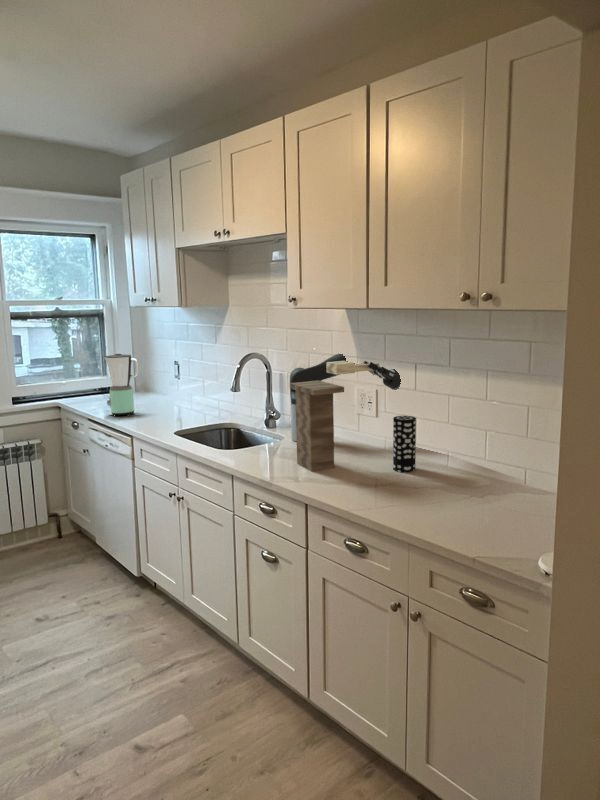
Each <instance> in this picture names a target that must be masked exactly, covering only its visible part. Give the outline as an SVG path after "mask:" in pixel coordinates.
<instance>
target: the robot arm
mask: <svg viewBox="0 0 600 800" xmlns="http://www.w3.org/2000/svg"><path fill="white" fill-rule="evenodd" d="M336 361H346V358H345V356H343V354H339V353H337V354H334V355H333V356H330V357H328V358H327V359H325V360H324V361H322V362H320V363H318V364H316V365H313V366H310V367H306V368H304V367H297V368H294V369H293V370H292V371H291V372H290V375H289V384H290V383H298V382H308V381H318V380H319V381H324V380H327V379H331V378H335V377H337V376H340V375H341V374H339V375H336V374H331V373H327V367H326V362H336ZM367 363H369V364H368V367H369V368H371V369H373V370H370V371H368V372H369V373H371V374H372V376H377V378H378V379H382V383H383V385H384V386H386V387H388V388H390V389H391V390H393V391H394V390H397V389H399V387H400V384H401V383H400V382H401V379H400V375H399V373H398V372H397V371H396V370H395V369H392V368H390V369H388V368H385V367H384V366H380V365H379V366H377V365H376V364H374V363H375V362H372V361H366V360H365V361H364V362H363V363H362V364H367ZM289 390H290V391H289V393H290V394H289V397H290V413H291V414H290V415H291V416H290V418H291V419H290V424H291V425H290V427H291V431H290V433H291V440H292V442H296V441H297V434H296V394H295V390H294V389H290V388H289Z"/></svg>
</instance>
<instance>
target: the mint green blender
mask: <svg viewBox="0 0 600 800" xmlns="http://www.w3.org/2000/svg"><path fill="white" fill-rule="evenodd" d="M103 358H104V359H105V362H106V365H107V367H108V371H109V376H110V380H111V386H110V388H109V397H108V398H107V399H106V404H107V406H109V408H110V413H111V415H112V416H113V415H117V416H127V415H130V416H131V414H133V413H135V401H134V400H135V398H134V389H133V387H132V386H131V385H130V381H131V379H134V378H136V377H137V376H138V375H139V362H138V360H137V358H135V357H132V355H131V354H121V353H115V354H112V355H111V354H110V355H104V356H103ZM132 362H134V365H135V366H134V367H135V369H134V370H135V373H134V374H132V373H131V372H132Z"/></svg>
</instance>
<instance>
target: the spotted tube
mask: <svg viewBox="0 0 600 800" xmlns="http://www.w3.org/2000/svg"><path fill="white" fill-rule="evenodd" d="M416 423H417V417H415V416H412V415H397V416H393V428H392V429H393V434H392V435H393V439H392V441H393V443H392V446H393V448H392V449H393V450H392V451H393V452H392V453H393V454H392V459H393V460H392V461H393V462H392V464H393V465H392V466H393V467H392V469H393V470H395V472H397V471H398V473H403V472H407V473H413V472H414V470H415V471H416V448H417V446H416V445H417V442H416V439H417V433H416V432H417V431H416V430H417V424H416ZM412 471H413V472H412Z"/></svg>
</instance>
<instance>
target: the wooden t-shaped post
mask: <svg viewBox="0 0 600 800" xmlns="http://www.w3.org/2000/svg"><path fill="white" fill-rule="evenodd" d="M290 389H294V390H295V394H296V434H297V442H296V462H297V465H299V466H300V467H302V468H304V469H306V470H308V471H309V472H316V470H317V471H323V470H327V469H328V470H329V469H333V467H334V468H335V442H334V441H335V436H334V435H335V431H334V430H335V429H334V426H335V425H334V394H338V393H340V394H341V393H345V386H341V385H338V384H333V383H330V382H326V381H324V380H322V381H319V380H318V381H308V382H298V383H290V382H289V390H290ZM322 469H323V470H322Z"/></svg>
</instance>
